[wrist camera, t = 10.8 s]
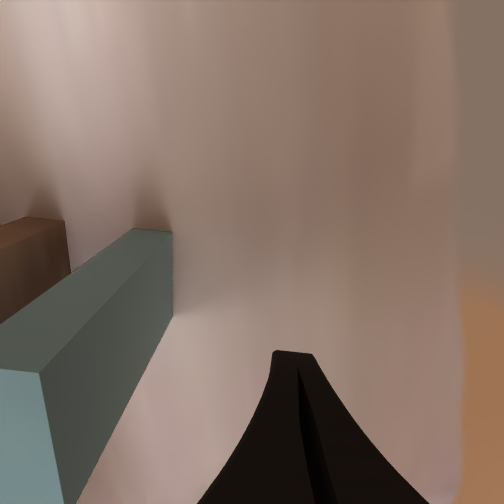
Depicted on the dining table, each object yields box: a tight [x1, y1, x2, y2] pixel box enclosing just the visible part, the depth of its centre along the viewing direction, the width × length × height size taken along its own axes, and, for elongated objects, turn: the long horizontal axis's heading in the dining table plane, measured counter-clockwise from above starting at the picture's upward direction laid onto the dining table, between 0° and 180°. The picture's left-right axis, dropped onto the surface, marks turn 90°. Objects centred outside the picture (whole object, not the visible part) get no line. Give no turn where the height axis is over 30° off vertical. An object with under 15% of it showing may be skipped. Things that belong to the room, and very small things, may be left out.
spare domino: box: [0, 228, 172, 504], centre depth 12 cm, size 5×2×10 cm, turn 175°
